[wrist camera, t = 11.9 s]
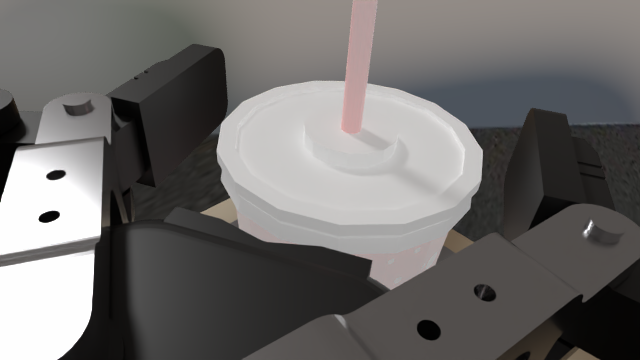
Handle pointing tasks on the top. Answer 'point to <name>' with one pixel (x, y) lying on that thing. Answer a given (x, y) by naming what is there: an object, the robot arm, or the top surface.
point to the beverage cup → (351, 166)
